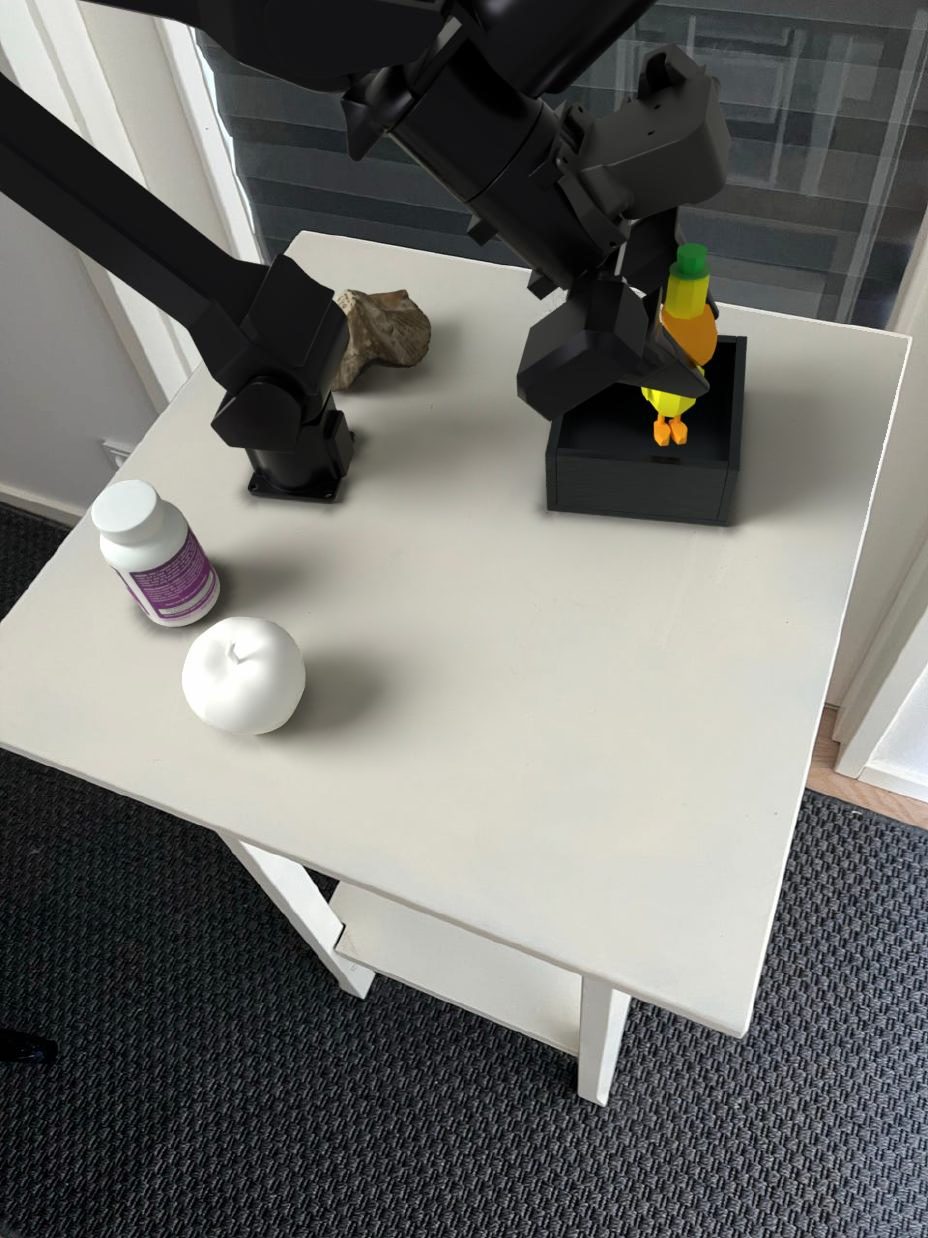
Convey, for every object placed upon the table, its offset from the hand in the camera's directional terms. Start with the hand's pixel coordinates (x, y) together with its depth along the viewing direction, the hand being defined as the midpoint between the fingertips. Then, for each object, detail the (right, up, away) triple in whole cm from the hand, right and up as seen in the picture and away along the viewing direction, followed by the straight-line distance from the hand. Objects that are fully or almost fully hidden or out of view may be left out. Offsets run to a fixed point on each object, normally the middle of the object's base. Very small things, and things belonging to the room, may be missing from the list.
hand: (707, 355), depth 51 cm
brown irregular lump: (-21, +6, +22) cm, 31 cm away
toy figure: (-1, -3, +6) cm, 7 cm away
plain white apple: (-26, -20, +7) cm, 33 cm away
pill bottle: (-32, -13, +12) cm, 37 cm away
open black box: (-1, -3, +14) cm, 15 cm away
